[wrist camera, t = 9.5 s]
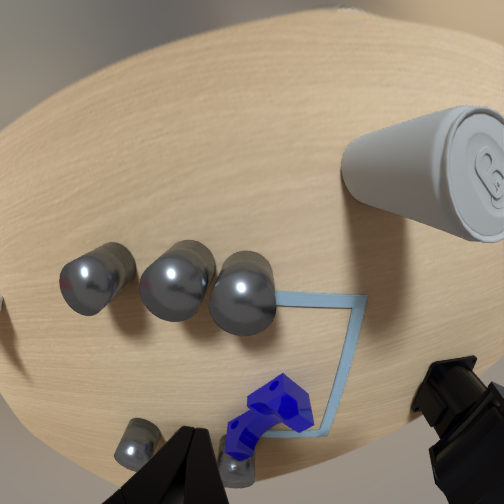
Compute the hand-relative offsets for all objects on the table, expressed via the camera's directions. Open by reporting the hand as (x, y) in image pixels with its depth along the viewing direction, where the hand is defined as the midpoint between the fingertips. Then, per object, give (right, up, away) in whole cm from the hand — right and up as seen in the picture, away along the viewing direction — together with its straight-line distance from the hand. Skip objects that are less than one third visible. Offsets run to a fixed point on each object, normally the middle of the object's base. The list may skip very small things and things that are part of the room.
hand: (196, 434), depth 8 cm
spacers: (-4, -4, +15) cm, 16 cm away
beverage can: (+10, +11, +10) cm, 18 cm away
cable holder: (+3, -8, +16) cm, 18 cm away
